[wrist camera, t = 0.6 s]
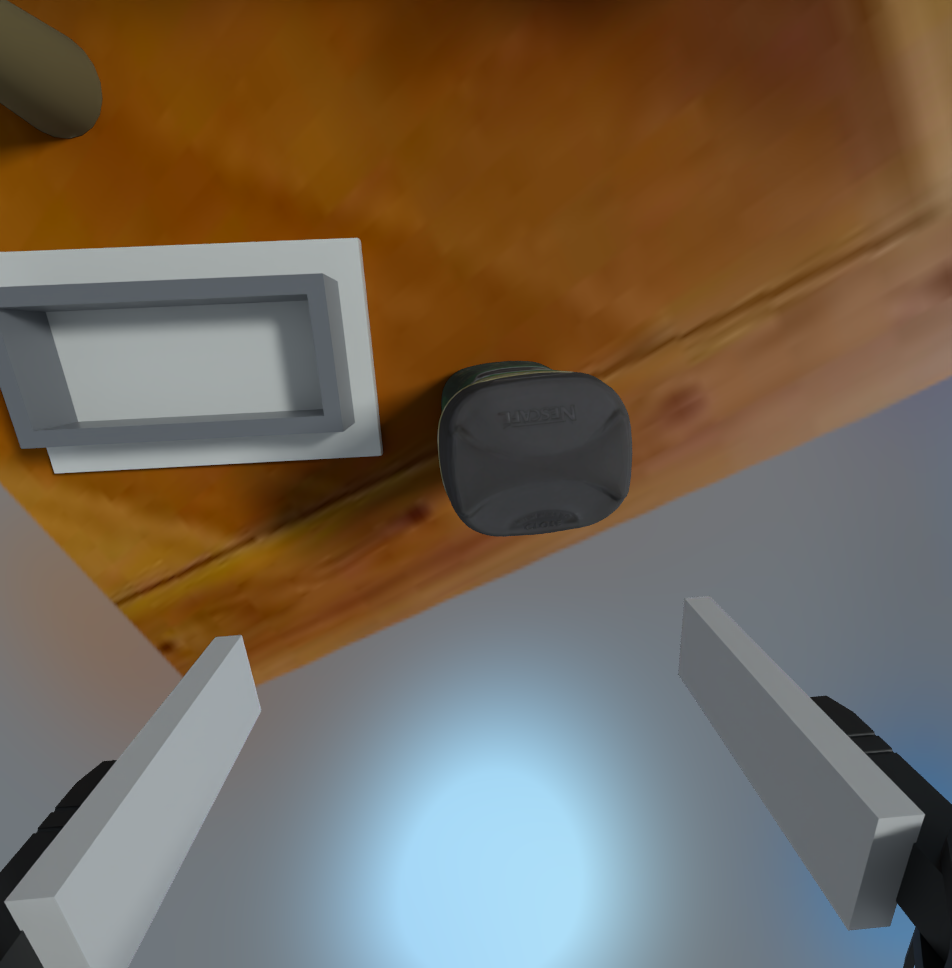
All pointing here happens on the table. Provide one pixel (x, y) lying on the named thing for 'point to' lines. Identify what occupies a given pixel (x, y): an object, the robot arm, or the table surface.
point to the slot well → (189, 354)
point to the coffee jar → (532, 448)
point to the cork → (46, 76)
